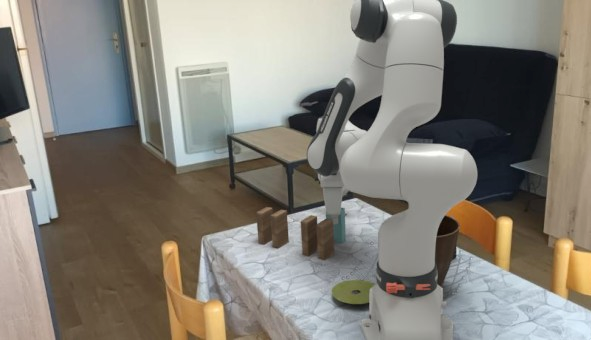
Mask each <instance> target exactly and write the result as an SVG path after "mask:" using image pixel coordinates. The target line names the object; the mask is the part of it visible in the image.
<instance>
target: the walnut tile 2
mask: <svg viewBox="0 0 591 340" xmlns="http://www.w3.org/2000/svg"><path fill="white" fill-rule="evenodd" d="M270 217H271V231H272V243H271V244H272V248H275V249H280V248H282V247H283V246H285V245H287V244H288V243H290V241H289V239H290V238H289V227H288V226H289V225H288V221H289V220H288V210H287V209H286V210H285V209H280V210H278V211H275V212H273V214H272V215H270Z"/></svg>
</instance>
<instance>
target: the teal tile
mask: <svg viewBox="0 0 591 340" xmlns="http://www.w3.org/2000/svg"><path fill="white" fill-rule="evenodd" d="M345 214H346V210H345V207H341V213H340V215H338V224H333V232H334V243H335V242H336V243H340V244H343V243H344V242H346V240H347V237H346V215H345ZM326 218H328V219H332V218H331V215H327V213H326V212H325V219H326Z"/></svg>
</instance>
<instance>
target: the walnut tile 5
mask: <svg viewBox="0 0 591 340" xmlns="http://www.w3.org/2000/svg"><path fill="white" fill-rule="evenodd" d="M316 226H317V246H318V250H317V259H318V260H321V261H326V260H327V259H328V258H330V257H331V256H333V255H334V254H335V241H334V232H333V219H328V218H326V217H325V218H324V219H323V220H321V221H319V222H317V224H316Z"/></svg>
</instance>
